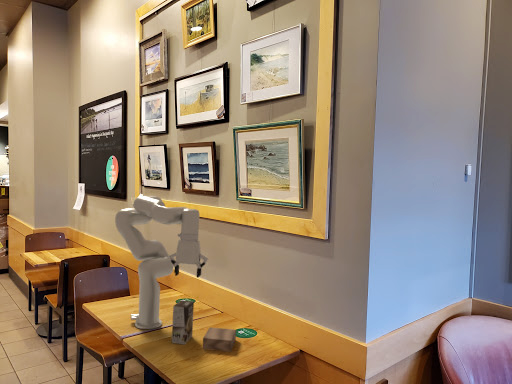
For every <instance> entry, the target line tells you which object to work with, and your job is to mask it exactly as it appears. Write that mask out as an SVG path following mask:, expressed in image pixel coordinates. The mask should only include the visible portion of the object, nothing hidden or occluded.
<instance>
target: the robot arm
mask: <svg viewBox="0 0 512 384" xmlns="http://www.w3.org/2000/svg"><path fill="white" fill-rule="evenodd" d="M132 206H133V207H132V208H131V207H129V208H124V209H120V210H119V211H118V212H117V213H116V215H115V217H114V218H115V220H114V221H115V227H116V229H117V232H118V233H119V235H120V236H121V237H122V238H123V240H124V241H125V244H126V246H127V247H128V249H129V251H130V253H131V255H132V256H133V258H134V259H135V260H136V261H141V262H140V263H139V264H138V266H137V274H138V280H139V292H138V293H139V294H138V295H139V296H138V313H137V314H135V313H131V314H130V320H133V321H134V320H135V321H134V326H135V328H137V329H141V330H151V329H152V330H154V329H157V328H159V327H161V326H162V325H163V321H162V320H161V319H160V301H161V299H160V298H161V287H160V286H161V285H160V283H159V282H158V281H157V279H160V278H164V277H167V276H170V275H171V274H172V273H174V276H175V277H176V276H178V275H179V274H180V264H183V265H184V264H186V265H196V267H197V268H196V278H198V279H199V277H201V275H202V268H203V267H204V266H205V265H206V264H207V262H208V260H209V259H208V257H206V256H205V255H204V254H202V252H201V242H200V239H199V229H200V228H199V227H200V210H198V209H196V208H189V207H187V206H186V207H185V206H176V207H175V206H173V207H170V206H169V207H166V204H165V203H164V201H163V200H162V199H161V198H160V197H159V196H157V195H156V196H155V195H142V196H138V197H136V198H135V199H134V200H133V203H132ZM151 221H154V222H156V223H159V224H162V225H166V226H167V225H181V226H180V227H181V230H180V233H177V237H178V238H180V239H178V242H177V246H176V252H174V253H171V254H170V255H169V253H168V251H167V249H166V247H165V246H164V244H163V243H162V242H161V241H160V240H157V239H150V240H149V239H148V240H147V239H146V238H145V237H144V236H143V234H142V232H141V231H140V230H139V229H138V228H136V227H135V226H139V225H146V224H149V223H150V222H151ZM174 257H175V258H174ZM201 259H202V260H203V261H202V262H201Z"/></svg>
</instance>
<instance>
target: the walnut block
mask: <svg viewBox="0 0 512 384" xmlns="http://www.w3.org/2000/svg"><path fill="white" fill-rule="evenodd" d="M236 335H237V329H234V328H233V329H232V328H223V327H222V328H221V327H220V328H219V327H209V328H208V329H207V331H206V332H205V335H204V336H203V337H202V350H207V349H209V351H218V350H220V351H219V352H231V353H232V350H233V348H234V345H235V342H236V339H237V336H236Z"/></svg>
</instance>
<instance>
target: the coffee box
mask: <svg viewBox="0 0 512 384" xmlns="http://www.w3.org/2000/svg"><path fill="white" fill-rule="evenodd" d="M194 305H195V303H194V301H191V300H182V299H181V300H180V301H178V302H177V303H176V304H174V305H173V307H172V308H173V312H172V325H171V326H172V327H171V328H172V330H171V343H172V344H178V345H186V344H187V343H188V342H189V341H188V340H191V339H192V337H193V328H194Z"/></svg>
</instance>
